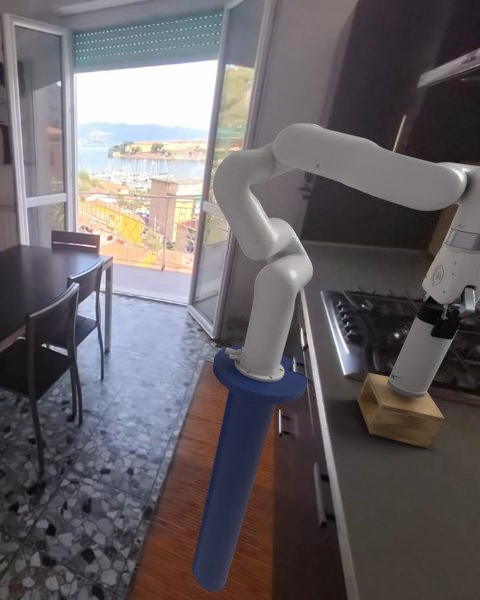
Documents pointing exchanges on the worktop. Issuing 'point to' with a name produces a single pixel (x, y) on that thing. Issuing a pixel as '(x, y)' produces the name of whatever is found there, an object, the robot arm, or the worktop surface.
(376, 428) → the shelf
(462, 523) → the worktop surface
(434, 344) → the travel mug
